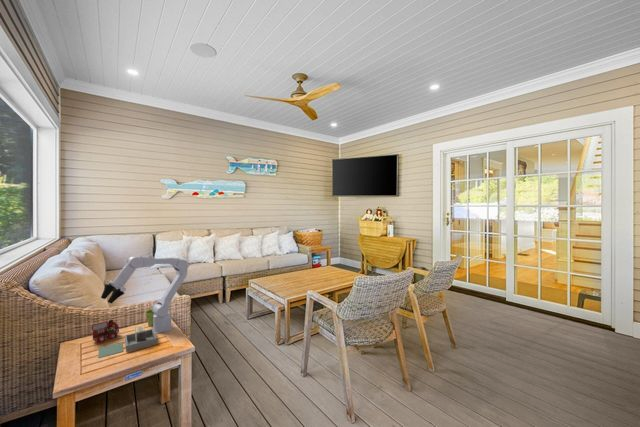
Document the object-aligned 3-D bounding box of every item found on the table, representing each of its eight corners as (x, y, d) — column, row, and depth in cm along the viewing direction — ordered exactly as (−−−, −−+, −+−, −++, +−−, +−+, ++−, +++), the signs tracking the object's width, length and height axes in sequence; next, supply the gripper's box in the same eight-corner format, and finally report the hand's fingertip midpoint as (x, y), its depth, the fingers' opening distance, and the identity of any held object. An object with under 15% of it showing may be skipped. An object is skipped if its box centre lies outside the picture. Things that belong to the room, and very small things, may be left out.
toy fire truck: (121, 337, 158) (120, 319, 158) (93, 345, 149) (93, 326, 148) (117, 333, 163) (116, 316, 162) (90, 341, 153) (89, 323, 153)
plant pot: (148, 329, 168) (148, 315, 168) (143, 324, 174) (142, 311, 174) (164, 324, 175) (164, 310, 175) (159, 320, 182) (159, 307, 181)
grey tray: (152, 332, 164) (152, 326, 164) (157, 347, 146) (157, 341, 146) (124, 338, 156) (124, 332, 156) (126, 356, 138) (126, 349, 138)
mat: (122, 343, 151) (122, 342, 151) (123, 352, 142) (123, 351, 142) (98, 349, 145) (98, 347, 145) (98, 359, 136) (98, 357, 136)
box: (144, 338, 156) (143, 325, 156) (145, 344, 149) (145, 331, 149) (135, 340, 154) (135, 327, 153) (137, 346, 146) (136, 333, 146)
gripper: (110, 270, 152) (92, 294, 147) (123, 277, 145) (105, 302, 139) (121, 275, 158) (105, 298, 152) (135, 282, 151) (118, 306, 145)
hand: (106, 300), depth 146 cm, fingers open, 7 cm apart
